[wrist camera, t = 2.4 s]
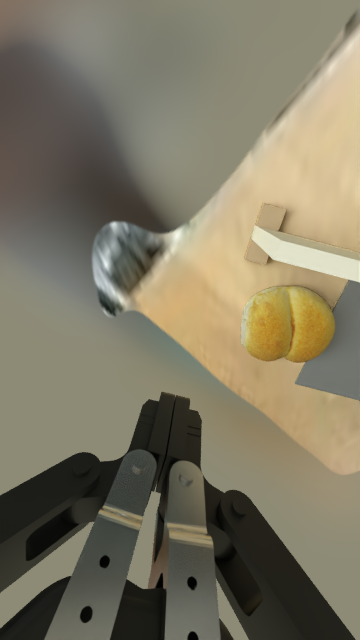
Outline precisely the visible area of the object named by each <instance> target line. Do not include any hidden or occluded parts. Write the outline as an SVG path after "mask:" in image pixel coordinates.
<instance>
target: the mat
mask: <svg viewBox="0 0 360 640" xmlns="http://www.w3.org/2000/svg"><path fill="white" fill-rule="evenodd" d="M332 313H333V316H334V319H335V333H334V336H333V338H332V340H331V342H330V344H329V345H328V347H327V348H326V349H325V350H324V351H323V352H322V353H321V354H320V355H319V356H318V357H316V358H314V359H312V360H309V361H306V363H305V365H304V367H303V368H302V370H301V372H300V374H299V376H298V378H297V380H296V382H295V384H298V385H301V386H305V387H309V388H313V389H317V390H321V391H325V392H329V393H333V394H336V395H340V396H344V397H348V398H352V399H356V400H360V282H356V281H352V280H349V281H348V283H347V285H346V287H345V289H344V291H343V293H342V295H341V297H340V298H339V300H338V302H337V304H336V306H335V308H334V310H333V312H332Z"/></svg>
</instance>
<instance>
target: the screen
mask: <svg viewBox="0 0 360 640" xmlns="http://www.w3.org/2000/svg"><path fill="white" fill-rule="evenodd" d="M286 210H287V209H283V208H279V207H275V206H271V205H268V204H263V203H262V206H261V209H260V212H259V215H258V217H257V220H256V223H255V226H254V229H253V232H252V235H251V238H250V241H249V244H248V247H247V250H246V253H245V256H244V258H245V260H249V261H253V262H256V263H260V264H264V265H266V262H267V260H268V257H269V256H270V257H271V258H272V259H273V260H276V261H280V262H284V263H288V264H291V265H295V266H299V267H303V268H307V269H310V270H314V271H318V272H322V273H326V274H330V275H333V276H337V277H341V278H345V279H349V280H352V281H356V282H360V253H359V252H356V251H352V250H348V249H344V248H340V247H336V246H333V245H329V244H325V243H321V242H317V241H314V240H310V239H306V238H302V237H298V236H295V235H291V234H287V233H283V232H279V228H280V225H281V223H282V220H283V218H284V215H285V212H286Z"/></svg>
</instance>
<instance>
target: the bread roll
mask: <svg viewBox="0 0 360 640" xmlns="http://www.w3.org/2000/svg"><path fill="white" fill-rule="evenodd" d="M334 333H335V319H334V316H333V313H332V311H331V309H330V307H329V306H328V304H327V303H326V302H325V301H324V300H323V299H322V298H321V297H320V296H319V295H318V294H316V293H315V292H313V291H311V290H308V289H306V288H304V287H300V286H287V287H283V286H277V287H271V288H268V289H265V290H262V291H260V292H259V293H256V294H255V295H254V296H253V297H252V298H251V299H250V300H249V301H248V303H247V304H246V305H245V307H244V311H243V316H242V325H241V343H242V345H243V346H244V347H245V348H246V349H247V351H248V352H249V353H250V354H251V355H252V356H253V357H255V358H257V359H259V360H263V361H274V360H276V359H279V358H282V357H284V358H286V359H287V360H289V361H292V362H296V363H301V362H306V361H309V360H312V359H314V358H316V357H318V356H319V355H320V354H321V353H322V352H323V351H324V350H325V349H326V348H327V347H328V345H329V344H330V342H331V340H332V338H333V336H334Z"/></svg>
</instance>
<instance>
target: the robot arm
mask: <svg viewBox="0 0 360 640" xmlns="http://www.w3.org/2000/svg"><path fill="white" fill-rule="evenodd" d="M189 406H190V399H189V398H185V397H181V396H178V395H176V397H175V395H173V394H169V393H165V392H161V396H160V400H159V402H158V401H154V400H150V399H149V400H148V401H147V402H146V403H145V404H144V405H143V406H142V409H141V413H140V416H139V419H138V422H137V425H136V428H135V432H134V435H133V438H132V441H131V444H130V447H129V450H128V451H127V453H126V454H125V455H124V456H123V457H121V458H119V459H117V460H114V461H104V462H100V460H99V459H98V458H97V457H96V456H95V455H93V454H91V453H86V452H82V453H77V454H75V455H73V456H71V457H69V458H67V459H65V460H64V461H62V462H60V463H58V464H56V465H55V466H53V467H51V468H49V469H47V470H46V471H44V472H42V473H40V474H38V475H37V476H35V477H33V478H31V479H30V480H28V481H26V482H24V483H22V484H20V485H19V486H17V487H15V488H13V489H11V490H9V491H8V492H6V493H4V494H2V495H0V593H1V592H2V591H3V590H4V589H6V588H7V587H8V586H9V585H11V584H12V583H13V582H15V581H16V580H17V579H18V578H20V577H21V576H22V575H24V574H25V573H26V572H27V571H29V570H30V569H31V568H32V567H34V566H35V565H36V564H38V563H39V562H40V561H41V560H43V559H44V558H45V557H47V556H48V555H49V554H51V553H52V552H53V551H54V550H56V549H57V548H58V547H59V546H61V545H62V544H63V543H64V542H66V541H67V540H68V539H70V538H71V537H72V536H74V535H75V534H76V533H77V532H79V531H80V530H81V529H83V528H84V527H85V526H86V525H87V524H88V523H89V522H94V521H95V522H94V524H93V526H92V529H91V531H90V533H89V536H88V538H87V540H86V543H85V545H84V547H83V550H82V552H81V555H80V557H79V559H78V562H77V564H76V566H75V569H74V571H73V573H72V576H69V577H66V578H63V579H61V580H59V581H57V582H55V583H53V584H52V585H50V586H49V587H47V588H46V589H44V590H43V591H41V592H40V593H39V594H38V595H37V596H36V597H35V598H34V599H32V600H31V601H30V602H29V603H28V604H27V605H26V606H25V607H24V608H23V609H21V610H20V611H19V612H18V613H17V614H16V615H15V616H14V617H13V618H11V619H10V620H9V621H8V622H7V623H6V624H5V625H4V626H3V627H2V628H0V640H233V638H232V636H231V634H230V633H229V631H228V629H227V628H226V626H225V625H224V624H223V622H222V621H221V620H220V618H219V612H218V600H217V587H216V579H217V581H218V583H219V584H220V586H221V588H222V590H223V592H224V594H225V596H226V597H227V599H228V601H229V603H230V605H231V606H232V609H233V610H234V612H235V614H236V616H237V618H238V620H239V622H240V623H241V625H242V627H243V629H244V631H245V633H246V635H247V637H248V638H249V640H355V638H354V637H353V636H352V634H351V633H350V632H349V630H348V629H347V628H346V626H345V625H344V624H343V622H342V621H341V620H340V618H339V617H338V616H337V614H336V613H335V612H334V610H333V609H332V608H331V606H330V605H329V604H328V602H327V601H326V600H325V599H324V597H323V596H322V595H321V593H320V592H319V590H318V589H317V588H316V586H315V585H314V584H313V582H312V581H311V580H310V578H309V577H308V576H307V574H306V573H305V572H304V571H303V569H302V568H301V566H300V565H299V564H298V562H297V561H296V560H295V558H294V557H293V556H292V555H291V553H290V552H289V550H288V549H287V548H286V546H285V545H284V544H283V542H282V541H281V540H280V539H279V537H278V536H277V534H276V533H275V532H274V530H273V529H272V528H271V526H270V525H269V524H268V522H267V521H266V520H265V518H264V517H263V516H262V514H261V513H260V512H259V510H258V509H257V508H256V506H255V505H254V504H253V502H252V501H251V500H250V499H249V498H248V497H247V496H246V495H245V494H244V493H242V492H240V491H237V490H229V491H227V492H225V493H223V492H222V491H220V490H218V489H217V488H215V487H213V486H212V485H211V484H209V483H208V481H207V480H206V479H205V478H204V476H203V474H202V472H201V466H200V460H201V424H202V420H201V418H200V415H199V413H198V411H194V410H190V409H189ZM156 484H157V487H156ZM155 487H156V492H158V493H161V496H160V503H159V506H158V509H157V513H156V523H155V533H154V544H153V555H152V565H151V572H150V578H149V582H148V589H142V588H140V587H138V586H137V585H135V584H133V583H132V582H130V581H129V580H127V575H128V571H129V567H130V564H131V561H132V557H133V553H134V550H135V546H136V542H137V538H138V535H139V531H140V528H141V523H142V520H143V516H144V512H145V509H146V507H147V504H148V501H149V497H150V494H151V491H154V490H155Z"/></svg>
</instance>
